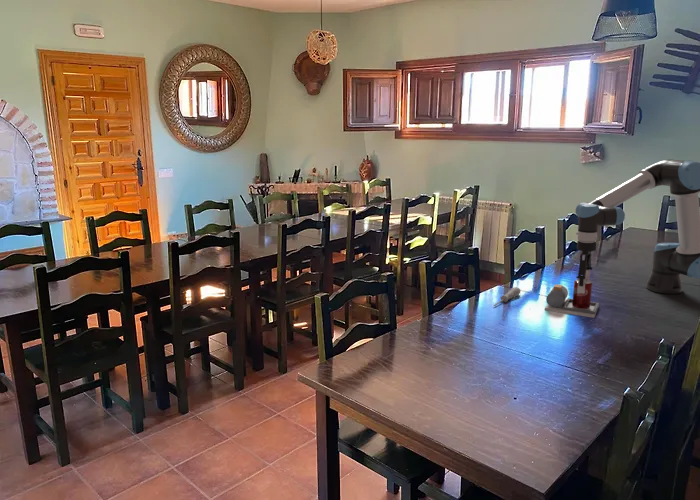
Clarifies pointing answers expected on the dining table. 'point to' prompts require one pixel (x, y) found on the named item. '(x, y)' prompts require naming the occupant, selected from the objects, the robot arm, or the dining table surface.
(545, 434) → the dining table surface
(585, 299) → the soda can
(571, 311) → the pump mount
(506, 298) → the screwdriver
